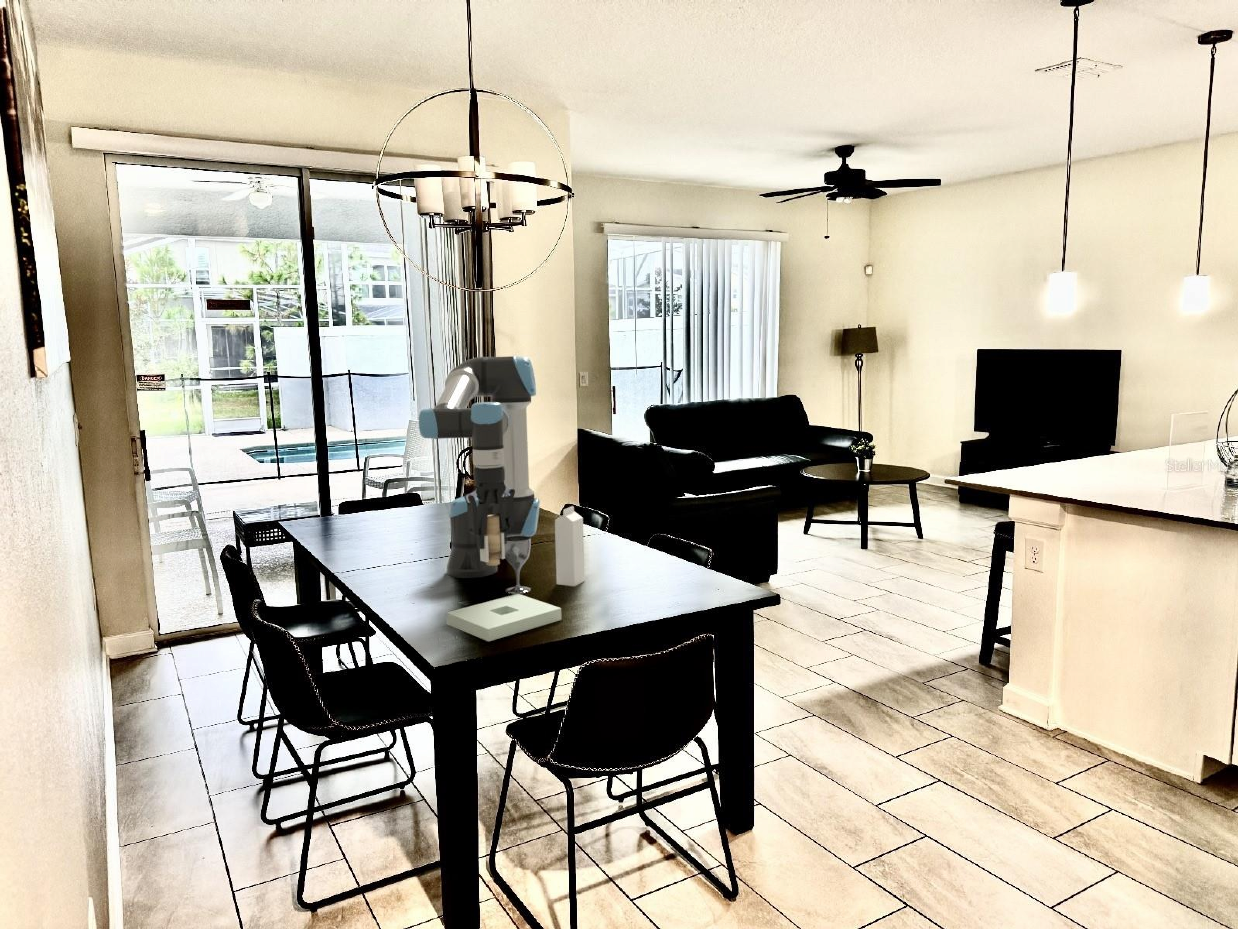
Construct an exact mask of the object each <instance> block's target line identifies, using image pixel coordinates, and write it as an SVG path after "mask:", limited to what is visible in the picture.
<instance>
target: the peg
mask: <svg viewBox="0 0 1238 929" xmlns="http://www.w3.org/2000/svg"><path fill="white" fill-rule="evenodd" d="M485 535H486V536H488V550H489V562H486V565H489V566H494V565H497V566H498V565H500V564H501V562H500V561H501V560H500V558H499V554H500V553H501V552H500V527H499V515H487V523H486V530H485Z"/></svg>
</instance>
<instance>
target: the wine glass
mask: <svg viewBox="0 0 1238 929" xmlns="http://www.w3.org/2000/svg"><path fill="white" fill-rule="evenodd" d="M531 544H532V540H531V537H530V536H527V535H510V536H507V543H506V544H505V545H504V546H505V560H506V561H507V562H508V563H509V564H510V565H511V566H512V568H513V570H514V573H515V579H516V585H515V586H511V587H507V588H506V589H505V593H507V592H508V594H510V593H511V594H512V595H515V594H520V595H523V594H527V593H529V592H531V589H532V588H531V587H528V586H524V585H523V586H522V585H521V584H520V574H521V573H520V572H521V569H522V567H523V565H524V564H525V563H526V562H527V560H528V559H529V557H530V554H531V546H532V545H531ZM526 592H527V593H526ZM511 594H510V595H511Z"/></svg>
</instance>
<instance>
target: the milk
mask: <svg viewBox="0 0 1238 929" xmlns="http://www.w3.org/2000/svg"><path fill="white" fill-rule="evenodd" d="M562 514H563V515H561V516H559V517H558V518H555V519H554V532H555V533H554V535H555V537H554V538H555V540H554V541H555V542H554V543H555V569H556V571H555V572H556V573H555V575H556V576H555V577H556V585H561V586H567V587H568V586H569V587H577V586H578V585H580V584H582V583H583V582H585V557H584V556H585V553H584V552H585V550H584V549H585V548H584V546H585V545H584V517H582V515H580V514H579V513H577V512H576V511H575V507H574V506H573V505H571V506H569V507H567V508H564V509H563V511H562Z"/></svg>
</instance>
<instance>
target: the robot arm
mask: <svg viewBox="0 0 1238 929" xmlns="http://www.w3.org/2000/svg"><path fill="white" fill-rule="evenodd" d="M534 372H535V371H534V368H533V364H532V361H531V360H530V359H529V357H526V356H516V355H512V356H478V357H473V358H471V359H468V360H467V359H466V360H465V361H463V362H461V363H460V364H458V365H457V366H455V367H454V368H453V369H452V370H451V371H450V372H449V373H448V375H447V377H446V378H445V381H444V382H445V384H444V386H445V388H444V390H443V392H442V394H441V395H440V397H439V399H438V401H437V403H436V405H435V406H434V408H431V407H430V408H424V409H422V410H421V411H420V412H419V415H418V429H419V434H420V436H421V437H422V438H424V439H434V440H438V439H439V440H440V439H441V440H442V439H469V438H471V439H472V464H473V466H475V467H473V480H474V481H473V482H474V488H473V491H472V492H470V493H466V494H464V496H462V497H461V496H460V497H458V498H455V499H454V500H453V501H452V502H451V503H450V506H449V511H450V512H449V520H450V537H451V540H450V541H451V549H450V554H449V557H448V561H447V564H446V573H447V576H449V577H453V578H460V579H475V578H482V577H487V576H491V575H493V574H496V573H497V572H498V565H494V566H489V565H486V562H489V550H488V536H486V535H485V530H486V523H487V515H499V527H500V552H501V553H500V554H499V558H500V559H501V560H504V559H505V546H504V545H505V544H506V543H507V536H510V535H527V536H530V538H531V537H534V536H535V534H536V533H537V528H538V523H539V517H540V516H539V515H540V502H541V501H540V498H537V497H535V491H534V490H533V489H532V488H531V487H530V475H529V474H530V473H529V471H530V470H529V450H528V448H529V447H528V446H529V444H528V443H529V442H528V420H527V419H528V418H527V407H529V405H530V404H531V403H532V397H534V396H536V395H537V387H536V378H535V373H534ZM476 397H479V398H480V397H481V398H482V397H486V398H487V397H488V398H489V397H491V401H484V402H483V401H482V402H481V401H480V402H475V403H473V404H472V405H471V408H467V407H468V406H469V403H470V401H471V400H473V399H474V398H476ZM505 560H506V559H505Z"/></svg>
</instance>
